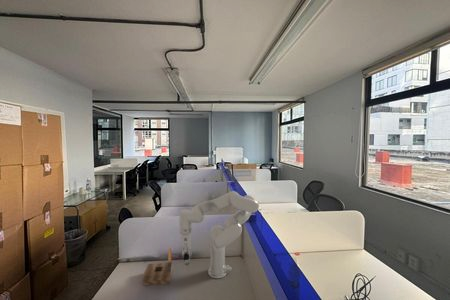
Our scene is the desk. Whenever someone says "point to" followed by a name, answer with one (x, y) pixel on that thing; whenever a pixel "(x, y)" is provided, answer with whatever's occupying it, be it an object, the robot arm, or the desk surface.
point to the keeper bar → (169, 255)
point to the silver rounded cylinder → (187, 262)
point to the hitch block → (158, 274)
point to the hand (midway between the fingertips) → (186, 256)
